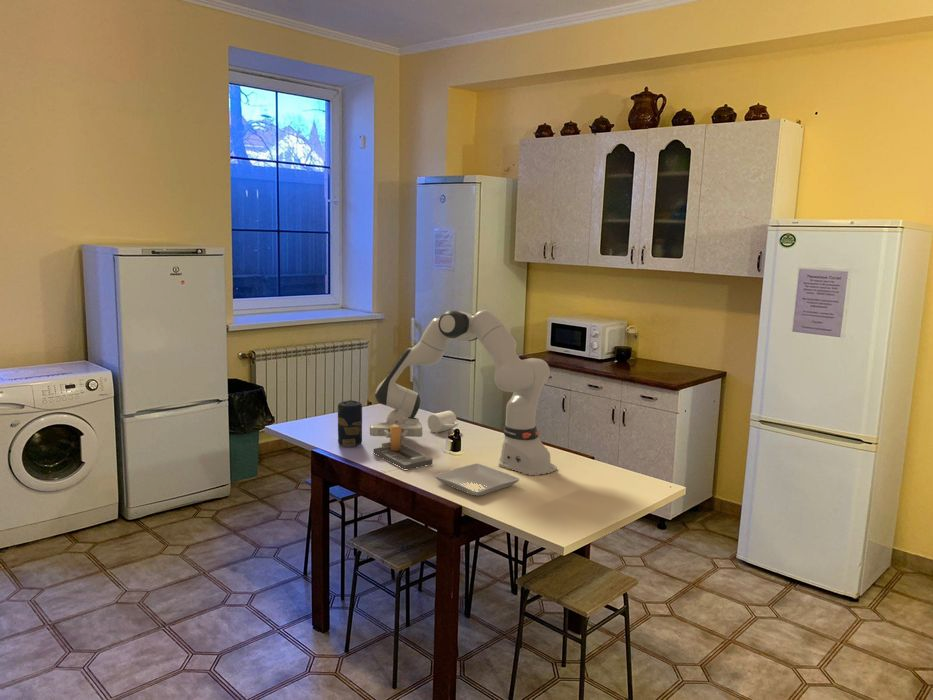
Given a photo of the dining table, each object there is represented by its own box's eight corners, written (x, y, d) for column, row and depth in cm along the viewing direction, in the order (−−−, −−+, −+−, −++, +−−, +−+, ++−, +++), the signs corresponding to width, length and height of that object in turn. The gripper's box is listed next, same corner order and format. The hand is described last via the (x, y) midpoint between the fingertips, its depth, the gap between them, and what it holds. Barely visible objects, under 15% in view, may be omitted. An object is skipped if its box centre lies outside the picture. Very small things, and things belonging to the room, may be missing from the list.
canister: (363, 447, 278) (363, 403, 275) (338, 448, 276) (338, 403, 273) (360, 440, 287) (361, 397, 284) (336, 441, 285) (336, 397, 282)
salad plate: (476, 470, 257) (476, 461, 256) (520, 487, 242) (521, 477, 242) (432, 484, 242) (432, 474, 242) (476, 502, 227) (477, 492, 227)
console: (432, 464, 261) (432, 455, 260) (404, 470, 254) (404, 461, 253) (400, 448, 278) (400, 440, 278) (373, 453, 271) (373, 445, 270)
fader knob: (402, 449, 269) (403, 425, 267) (393, 451, 267) (394, 427, 265) (397, 446, 272) (397, 423, 271) (388, 448, 270) (388, 424, 268)
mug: (427, 430, 304) (427, 412, 303) (443, 426, 311) (444, 408, 310) (446, 437, 296) (447, 418, 294) (463, 432, 303) (464, 414, 302)
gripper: (370, 417, 280) (367, 427, 266) (422, 418, 281) (422, 428, 268) (370, 432, 281) (367, 443, 267) (422, 433, 282) (422, 444, 269)
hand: (395, 435), depth 268 cm, fingers closed on fader knob, 4 cm apart
